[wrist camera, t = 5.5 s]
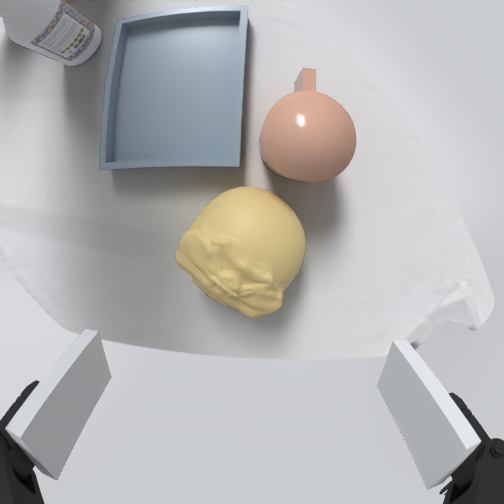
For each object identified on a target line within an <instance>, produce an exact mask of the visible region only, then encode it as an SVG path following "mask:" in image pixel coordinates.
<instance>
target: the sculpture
mask: <svg viewBox="0 0 504 504" xmlns="http://www.w3.org/2000/svg"><path fill="white" fill-rule="evenodd" d="M305 250H306V238H305V233H304V229H303V226H302V224H301V222H300V220H299V218H298V216H297V215H296V213H295V212H294V211H293V209H292V208H291V207H290V206H289V205H288V204H287V203H286V202H285V201H283V200H282V199H281V198H280V197H278V196H277V195H275V194H273V193H271V192H269V191H267V190H264V189H261V188H257V187H250V186H243V187H237V188H233V189H230V190H227V191H225V192H223V193H222V194H220V195H218V196H217V197H216V198H214V199H213V200H212V201H211V202H210V203H209V204H208V205H207V206H206V207H205V208H204V209H203V210H202V211H201V212H200V214H199V215H198V216H197V217H196V218H195V220H194V221H193V223H192V224H191V226H190V228H189V230H188V231H187V232H185V233H184V235H183V236H182V238H181V240H180V243H179V246H178V251H177V252H176V254H175V259H176V261H177V263H178V264H179V266H180V267H181V268H182V269H184V270H185V271H186V272H188V273H189V274H191V276H192V279H193V281H194V283H195V284H196V285H197V286H198V287H200V288H201V289H202V290H203V291H205V293H206V294H207V295H208V296H209V297H211V298H214V299H215V300H217V301H218V302H220V303H221V304H222V305H224V306H228V307H234V308H236V309H237V310H238V311H240V312H241V313H242V314H244V315H245V316H247V317H249V318H259V317H261V316H262V315H268V314H271V313H273V312H275V311H277V310H278V309H279V308H280V307H281V306H282V301H283V292H284V291H285V290H286V288H287V287H288V286H289V284H290V283H291V282H292V280H293V279H294V278H295V276H296V275H297V273H298V271H299V269H300V267H301V265H302V263H303V260H304V256H305Z"/></svg>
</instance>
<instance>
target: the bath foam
mask: <svg viewBox="0 0 504 504" xmlns="http://www.w3.org/2000/svg"><path fill="white" fill-rule="evenodd" d="M0 17H3V22H4V26H5V30H6V32H7V34H8V36H9V37H10V39H11V40H13V41H14V42H15V43H17V44H18V45H20V46H23V47H25V48H28V49H30V50H33V51H35V52H38V53H40V54H42V55H45V56H47V57H49V58H51V59H54V60H56V61H59V62H61V63H63V64H65V65H68V66H76V65H79V64H81V63H83V62H85V61H86V60H88V59H89V58H90V57H91V56H92V55H93V54H94V53H95V51H96V50H97V48H98V46H99V44H100V42H101V37H102V33H101V30H100V28H99V27H98V26H97V25H96V24H94V23H93V22H92V21H91V20H90V19H88V18H87V17H86V16H85V15H83V14H82V13H81V12H80V11H78V10H77V9H76V8H74V7H73V6H72V5H71V4H69V3H68V2H67V1H65V0H0Z"/></svg>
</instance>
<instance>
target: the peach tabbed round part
mask: <svg viewBox="0 0 504 504" xmlns="http://www.w3.org/2000/svg"><path fill="white" fill-rule="evenodd" d="M355 148H356V132H355V128H354V124H353V122H352V119H351V118H350V116H349V114H348V113H347V111H346V110H345V109H344V108H343V107H342V105H341V104H339V103H338V102H337V101H336V100H334V99H333V98H331V97H329V96H327V95H325V94H322V93H319V92H316V69H309V68H303V69H302V70H301V72H300V74H299V76H298V77H297V79H296V81H295V83H294V93H291V94H289V95H287V96H285V97H283V98H282V99H280V100H279V101H278V102H277V103H275V104H274V106H273V107H272V108H271V110H270V111H269V113H268V115H267V117H266V120H265V122H264V125H263V128H262V131H261V134H260V138H259V149H260V153H261V156H262V158H263V160H264V162H265V163H266V165H267V166H268V167H269V168H270V169H271V170H272V171H274V172H275V173H277V174H278V175H280V176H283V177H286V178H291V179H295V180H299V181H304V182H322V181H326V180H329V179H331V178H333V177H335V176H337V175H338V174H340V173H341V172H342V171H343V170H344V169H345V168H346V167H347V166H348V164H349V163H350V161H351V159H352V157H353V155H354V152H355Z"/></svg>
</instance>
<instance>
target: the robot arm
mask: <svg viewBox="0 0 504 504" xmlns="http://www.w3.org/2000/svg"><path fill="white" fill-rule="evenodd" d="M110 379H111V374H110V371H109V367H108V364H107V360H106V357H105V353H104V350H103V346H102V342H101V338H100V334H99V331H95V330H90V329H84V331H83V332H82V333H81V334H80V335H79V336H78V337H77V338H76V340H75V341H74V342H73V343H72V344H71V345H70V347H69V348H68V349H67V350H66V351H65V352H64V354H63V355H62V356H61V357H60V358H59V359H58V361H57V362H56V363H55V364H54V365H53V367H52V368H51V369H50V370H49V371H48V373H47V374H46V375H45V376H44V378H43V379H42V380H41V381H40V382H39V381H37V380H36V381H34V382H33V383H31V384H30V385H28V386H27V387H26V388H25V389H24V390H23V392H22V393H21V396H19V397H18V398H17V399H16V402H14V403H13V405H12V406H11V407H10V408H9V410H8V411H7V413H6V414H5V415H4V416H3V418H2V419H1V420H0V504H44V501H43V498H42V495H41V492H40V488H39V485H38V482H37V478H36V475H35V473H34V471H33V467H34V466H36V467H37V468H38V469H39V470H40V471H41V472H42V473H43V474H45V475H47V476H49V477H51V478H53V479H55V480H58V478H59V476H60V474H61V472H62V469H63V467H64V465H65V463H66V461H67V459H68V457H69V455H70V453H71V451H72V449H73V447H74V445H75V443H76V441H77V439H78V437H79V435H80V433H81V431H82V429H83V428H84V426H85V424H86V422H87V420H88V418H89V416H90V415H91V413H92V411H93V409H94V407H95V405H96V404H97V402H98V400H99V398H100V396H101V395H102V393H103V391H104V389H105V387H106V386H107V384H108V382H109V380H110ZM377 387H378V389H379V391H380V392H381V395H382V396H383V398H384V400H385V402H386V404H387V406H388V408H389V410H390V412H391V414H392V416H393V418H394V420H395V422H396V424H397V426H398V428H399V430H400V432H401V434H402V436H403V438H404V440H405V442H406V445H407V447H408V449H409V451H410V453H411V455H412V457H413V459H414V461H415V464H416V466H417V468H418V470H419V472H420V474H421V476H422V479H423V481H424V483H425V486H426V488H427V489H430V488H432V487H435V486H437V485H439V484H441V483H443V482H444V481H445V480H446V479H447V478H448V477H449V476H450V475H451V477H452V479H453V480H452V481H450V482H449V483H448V484H447V485H446V486H445V487H444V488H443V489H442V490H441V491H440V493H439V494H442V493H443V492H445V491H446V490H447V489H448V490H447V492H446V493H445V495H446V496H445V499H444V502H443V504H504V441H503V440H501V439H499V438H494V439H490V438H489V436H488V435H487V434H486V432H485V431H484V429H483V428H482V426H481V425H480V424H479V422H478V421H477V419H476V418H475V417H474V415H472V413H471V411H470V410H469V409H467V406H466V404H465V403H464V402H463V400H462V399H461V398H459V397H458V396H457V395H455V394H454V393H449V394H448V393H447V391H446V390H445V389H444V388H443V386H442V385H441V383H440V382H439V381H438V379H437V378H436V377H435V375H434V374H433V373H432V371H431V370H430V369H429V368H428V366H427V365H426V364H425V363H424V361H423V360H422V359H421V358H420V356H419V355H418V354H417V353H416V351H415V350H414V349H413V347H412V346H411V345H410V344H409V343H408V341H407V340H399V341H393V342H392V345H391V348H390V351H389V354H388V357H387V360H386V363H385V365H384V368H383V371H382V373H381V376H380V379H379V381H378V384H377Z"/></svg>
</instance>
